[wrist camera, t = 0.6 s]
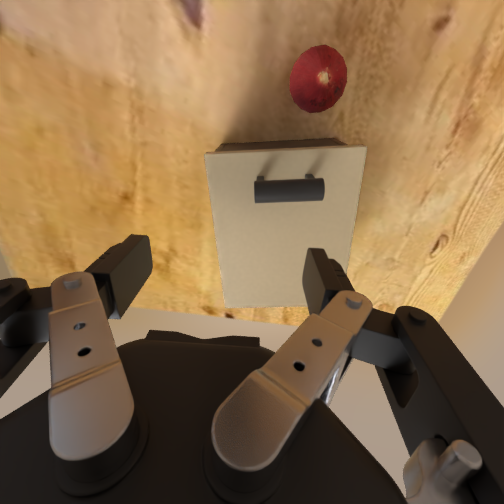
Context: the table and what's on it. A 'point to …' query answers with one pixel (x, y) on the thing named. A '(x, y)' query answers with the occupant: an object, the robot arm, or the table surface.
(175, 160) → the table surface
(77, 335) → the robot arm
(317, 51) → the onion
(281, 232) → the storage bin lid
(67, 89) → the table surface
